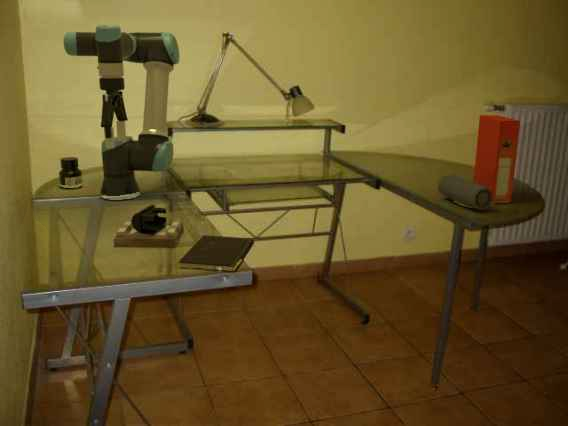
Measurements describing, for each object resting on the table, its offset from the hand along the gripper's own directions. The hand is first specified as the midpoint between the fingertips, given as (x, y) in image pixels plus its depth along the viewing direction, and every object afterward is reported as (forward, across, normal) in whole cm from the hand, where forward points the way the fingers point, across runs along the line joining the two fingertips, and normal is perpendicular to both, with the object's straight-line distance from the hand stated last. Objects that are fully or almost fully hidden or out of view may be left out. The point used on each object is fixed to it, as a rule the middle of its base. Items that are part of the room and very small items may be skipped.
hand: (116, 144), depth 188 cm
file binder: (+27, -39, +137) cm, 145 cm away
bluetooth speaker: (+27, -28, +123) cm, 129 cm away
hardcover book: (+28, +29, +36) cm, 54 cm away
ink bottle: (+27, -49, -34) cm, 65 cm away
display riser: (+27, +15, +13) cm, 33 cm away
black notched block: (+24, +15, +13) cm, 31 cm away
